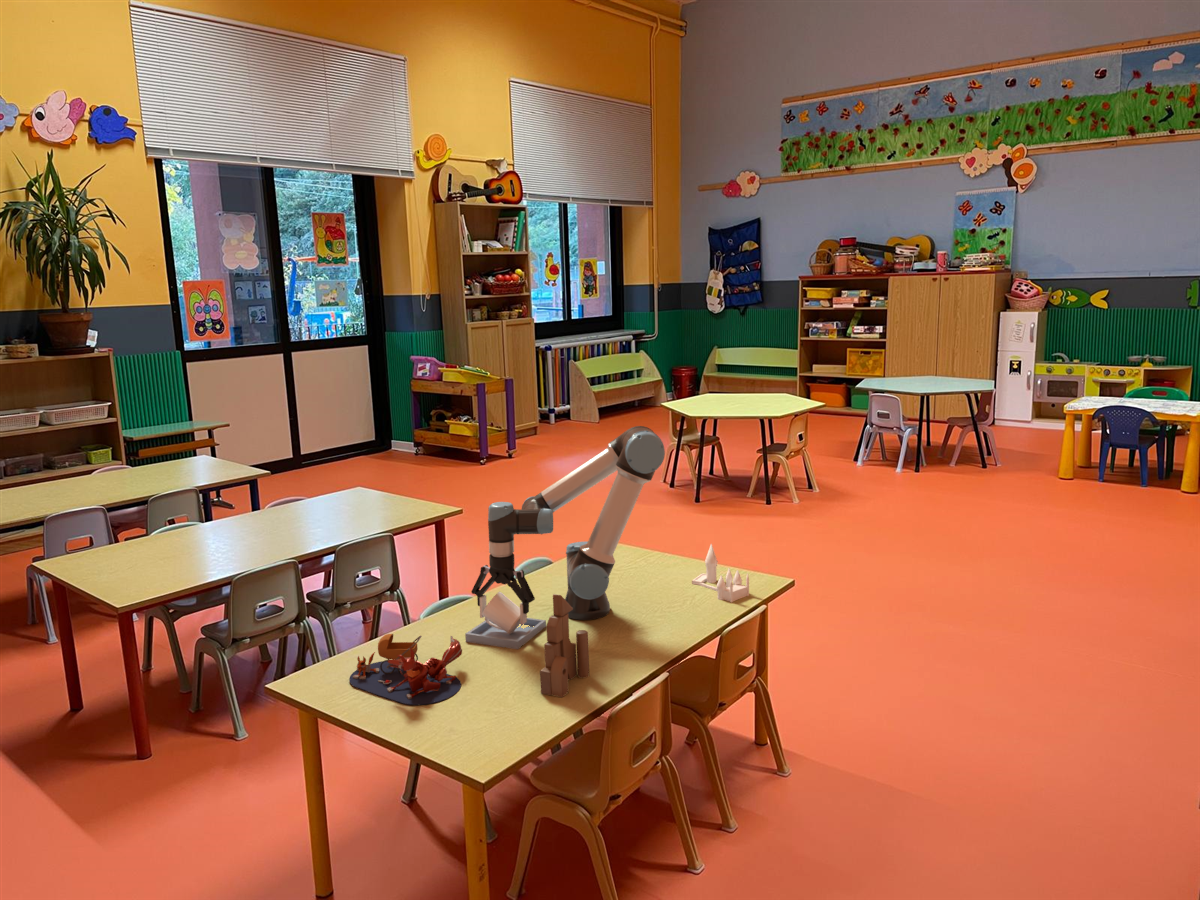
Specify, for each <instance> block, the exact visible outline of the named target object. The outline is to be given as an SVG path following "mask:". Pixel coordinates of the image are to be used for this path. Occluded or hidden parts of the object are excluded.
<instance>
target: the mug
mask: <svg viewBox="0 0 1200 900" xmlns="http://www.w3.org/2000/svg"><path fill="white" fill-rule="evenodd" d="M486 605H487V606H486V608H485V609H484V611H483V613H482V615H483V616H484V617H483V618H484V621H486V622H487V623H488V624H489V625H490V626H492V627H494V628H497V629H500V630H504V631H506V632H507V633H509V634H511V633H513V632H514V631H515V629H516V628H517V627H518V626H519V624H520V606H518V604H516V603H515V602H514V601H513V600H511V599H510V598H509V597H508V596H506V595H505V594H504V593H503V592H501V591H498V592H497V593H496V594H495V595H494V596H493V597H492V598H491V599H490V600H489V602H488V603H487V604H486ZM489 620H490V621H491V622H493V623H494V624H493V623H491V622H490V621H489ZM495 624H496V625H495Z"/></svg>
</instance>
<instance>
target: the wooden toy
mask: <svg viewBox="0 0 1200 900" xmlns="http://www.w3.org/2000/svg"><path fill="white" fill-rule="evenodd" d="M552 605H553V608H552V611H553V612H552V613H553V614H552V615H550V616H549V618H548V621H547V622H546V641H547V642H545V643H544V645H543V647H544V651H543V652H544V667H543V668H541V670H540V671H539V675H540V676H539V678H540V679H539V680H540V693H541V694H543V695H546V696H547V695H548V696H554V697H558V698H563V697H565V696H566V695H567V694H568V693H569V681H570V680H572V679H574V678H575V677H576V676H577V677H578V678H579V679H585V678H588V677H589V676H590V655H589V654H590V653H589V652H590V650H589V632H588V631H587V630H586V629H585V630H584V629H581V630H580V629H579V630H577V631H576V632H575V634H576V635H575V636H576V637H575V638H576V639H575V640H576V643H575V642H572V641H571V640H570V626H569V625H570V623H569V622H570V621H569V620H570V619H569V617H568V612H570V611H571V610H573V608H572V607H571V606H570V605H569V604H568V602H567V601H566V600H565V597H563V596H562V595H561V594H555V593H554V594H552Z"/></svg>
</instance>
